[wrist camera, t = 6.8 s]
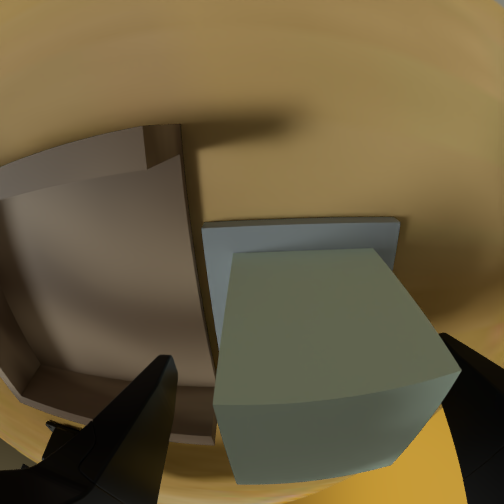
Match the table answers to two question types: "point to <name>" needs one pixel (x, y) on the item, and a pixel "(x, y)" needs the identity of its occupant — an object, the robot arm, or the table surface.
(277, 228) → the slate tile
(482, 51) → the table surface
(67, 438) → the robot arm
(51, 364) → the walnut crate
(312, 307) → the sage block
